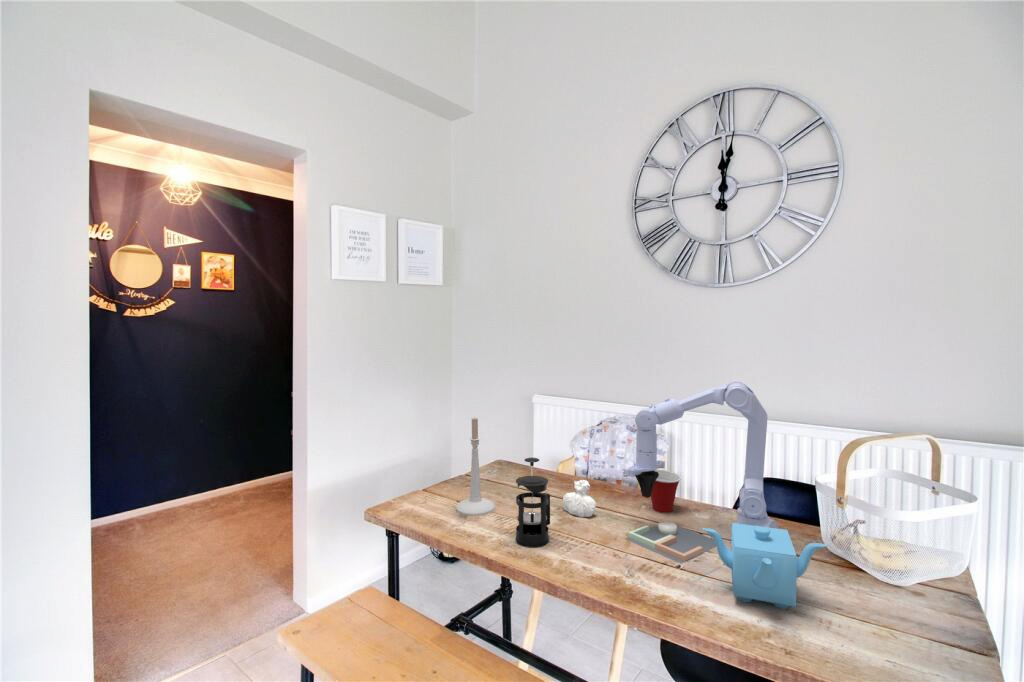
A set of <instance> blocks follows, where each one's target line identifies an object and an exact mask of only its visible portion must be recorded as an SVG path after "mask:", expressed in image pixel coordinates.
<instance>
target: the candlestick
mask: <svg viewBox="0 0 1024 682" xmlns="http://www.w3.org/2000/svg"><path fill="white" fill-rule="evenodd" d="M478 421H479V419H478V417H472V418H471V437H470V438H469V440H470V445H471V447H472V449H471V464H470V465H471V467H470V470H471V472H470V492H469V493H470V494H469V498H466V499H463V500H461V501H459V502H458V503H457V504H456V506H455V511H456V512H457V513H459V514H461V515H465V516H472V517H474V516H484V515H488V514H490V513H492V512H494V511H495V509H496V504H495V503H494V502H493V501H492V500H490V499H488V498H485V497H484V498H483V497H482V493H481V476H480V462H479V461H480V460H479V448H478V446H479V444H480V440H481V438H480V437H479V429H478V428H479V422H478Z"/></svg>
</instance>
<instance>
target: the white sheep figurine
mask: <svg viewBox="0 0 1024 682" xmlns="http://www.w3.org/2000/svg"><path fill="white" fill-rule="evenodd" d="M573 483H574V484H573V485H574V488H573V489H575V491H574V492H573V491H572V492H567V493H565V494H564V495H563V497H562V506H563V509H564V510H565V511H566V512H568V513H569V514H570V515H574V516H578V517H579V518H582V517H583V518H584V517H586V518H590V517H592V515H593V513H594V511H595V509H596V508H597V503H596V501H595V499H593V498H592V497H591V496H590V495H588V493H587V492H589V491H590V488H591V485H590V483H589V481H588V480H586V479H580V480H578V481H576V480H574V481H573Z"/></svg>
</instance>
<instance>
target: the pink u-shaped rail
mask: <svg viewBox="0 0 1024 682" xmlns="http://www.w3.org/2000/svg"><path fill="white" fill-rule="evenodd" d="M675 542H676V537H675V536H671V537H669V538H667V539H664V540H662V541H660V542H657V543H655V549H657V550H659V551H661V552H663V553H666V554H668V555H670V556H673V557H675V558H677V559H680V560H682V561H684V562H683V563H685V562H687V561H689V560H691V559H694V558H696V557H698V556H700V555H701V553H702V554H703V547H701V546H698V547H696V548H694V549H692V550H690V551H688V552H686V553H681V552H678V551H676V550H674V549H671V548H669V547H667V546H668V545H671V544H673V543H675ZM699 554H700V555H699Z"/></svg>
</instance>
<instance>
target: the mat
mask: <svg viewBox="0 0 1024 682" xmlns="http://www.w3.org/2000/svg"><path fill="white" fill-rule="evenodd" d="M641 536H643V537H645V538H648V539H650V540H652V541H656V540H658V539H661V538H663V537H665V536H667V535H663V534H661V533H659V532H658V525H655V526H652V527H650V531H648V532H646V533H643V534H641ZM673 536H675V537H676V542H675V543H673V544H671V545H668V546H667V547H669V548H671V549H674V550H676V551H678V552H681V553H686V552H688V551H690V550H692V549H694V548H696V547H698V546H701V547H703V553H705V552H708V551H710V550H711V549H714V548H717V547H716V544H715V541H714V539H713V538H712V537H709V536H706V535H703V534H701V533H698V532H695V531H693V530H689V529H687V528H684V527H681V526H679V525H677V534H676V535H673ZM624 539H625V540H627V541H628V542H631V543H633V544H635V545H637V546H640V547H641V548H645V549H647V550H650V551H652V552H653V553H656V554H657V555H658V554H659V556H660V555H661V556H662V557H664V558H666V559H669V560H672V561H674V562H676V563H679V564H683V563H685V562H684V561H682V560H680V559H677V558H675V557H673V556H670V555H668V554H666V553H663V552H661V551H659V550H657V549H654V548H652V547H650V546H647V545H645V544H643V543H640V542H638V541H636V540H634V539H631V538H629V537H628V536H627V537H625V538H624ZM703 553H701V554H703ZM701 554H699V555H698V556H700V555H701Z"/></svg>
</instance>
